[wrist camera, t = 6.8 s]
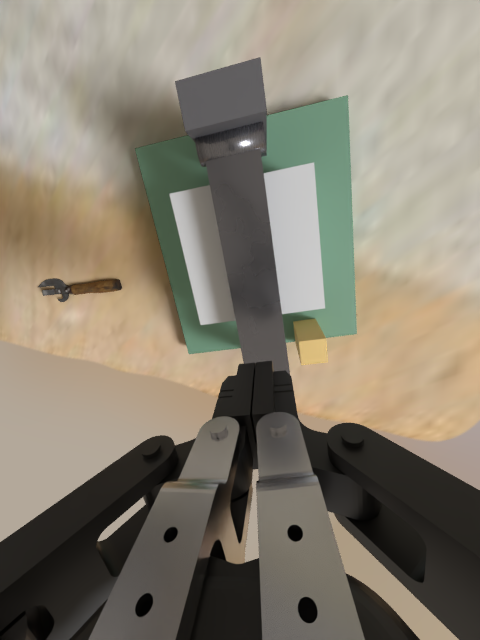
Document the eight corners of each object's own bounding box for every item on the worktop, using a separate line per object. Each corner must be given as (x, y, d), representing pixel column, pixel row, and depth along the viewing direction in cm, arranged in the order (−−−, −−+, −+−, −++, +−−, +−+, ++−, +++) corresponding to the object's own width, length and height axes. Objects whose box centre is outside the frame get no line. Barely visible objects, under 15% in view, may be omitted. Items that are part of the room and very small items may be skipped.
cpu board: (143, 153, 22) (57, 101, 13) (341, 104, 19) (406, -1, 10) (192, 347, 27) (157, 405, 18) (351, 328, 25) (398, 383, 16)
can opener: (122, 278, 26) (115, 280, 25) (125, 301, 27) (119, 304, 26) (38, 277, 27) (29, 279, 26) (44, 299, 28) (35, 302, 26)
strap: (214, 160, 19) (192, 131, 13) (263, 149, 19) (262, 113, 13) (250, 357, 24) (245, 397, 18) (289, 353, 24) (297, 393, 18)
